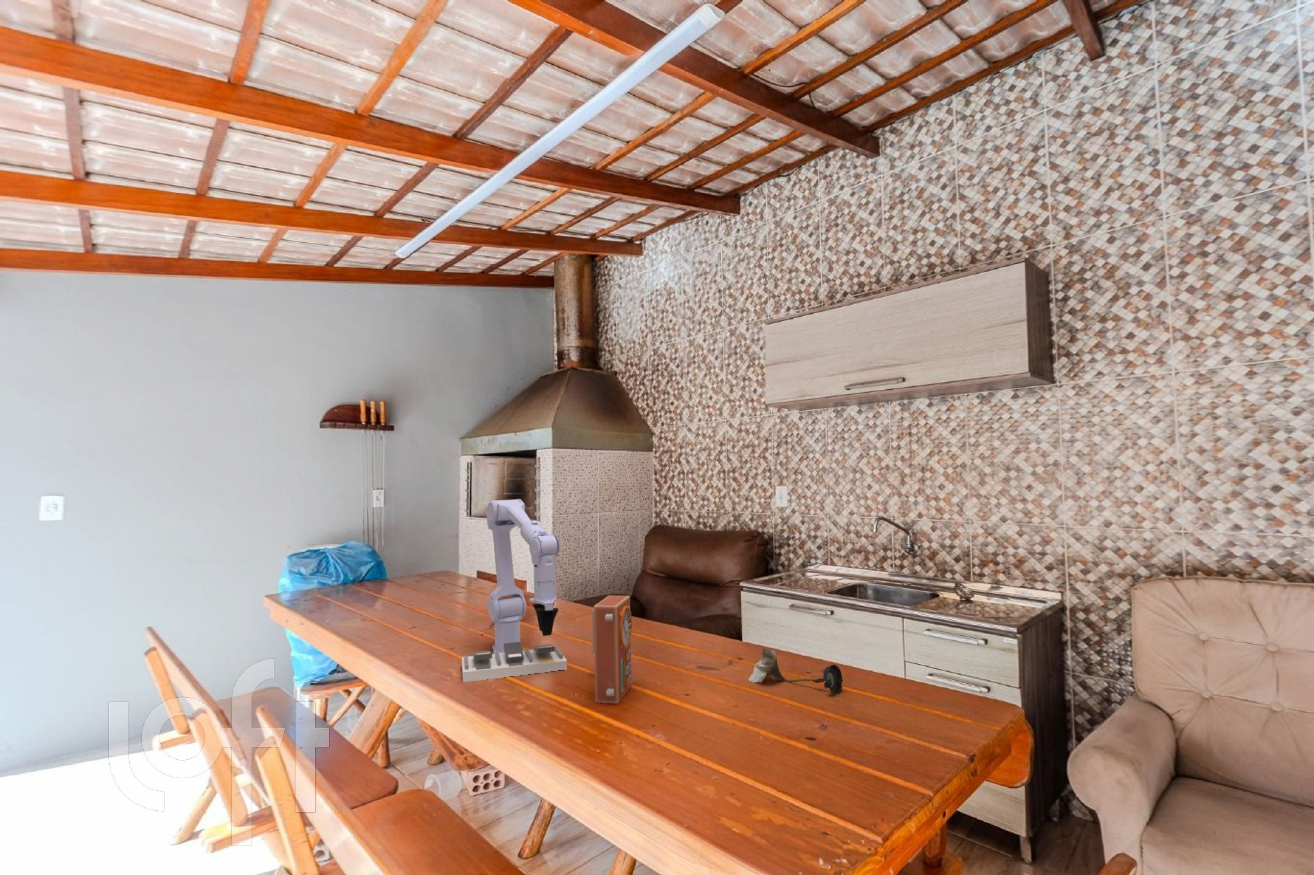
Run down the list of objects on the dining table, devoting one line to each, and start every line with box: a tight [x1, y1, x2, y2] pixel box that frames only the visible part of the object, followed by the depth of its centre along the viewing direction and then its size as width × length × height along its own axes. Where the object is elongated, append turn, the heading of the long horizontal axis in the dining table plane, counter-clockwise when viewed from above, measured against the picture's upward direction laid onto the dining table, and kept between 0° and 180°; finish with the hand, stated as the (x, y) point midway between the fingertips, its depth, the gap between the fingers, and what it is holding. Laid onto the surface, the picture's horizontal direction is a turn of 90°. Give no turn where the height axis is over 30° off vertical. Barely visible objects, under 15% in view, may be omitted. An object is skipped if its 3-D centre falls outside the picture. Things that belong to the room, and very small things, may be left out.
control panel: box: [591, 594, 633, 705], centre depth 149 cm, size 21×7×15 cm
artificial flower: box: [748, 648, 844, 697], centre depth 151 cm, size 9×22×10 cm, turn 49°
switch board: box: [461, 645, 568, 683], centre depth 169 cm, size 14×26×4 cm, turn 108°
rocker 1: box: [472, 650, 493, 660], centre depth 167 cm, size 9×4×1 cm, turn 18°
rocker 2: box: [532, 644, 555, 653], centre depth 172 cm, size 9×4×1 cm, turn 18°
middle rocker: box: [504, 641, 524, 663], centre depth 170 cm, size 9×4×1 cm, turn 18°
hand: (545, 632), depth 169 cm, fingers open, 5 cm apart
